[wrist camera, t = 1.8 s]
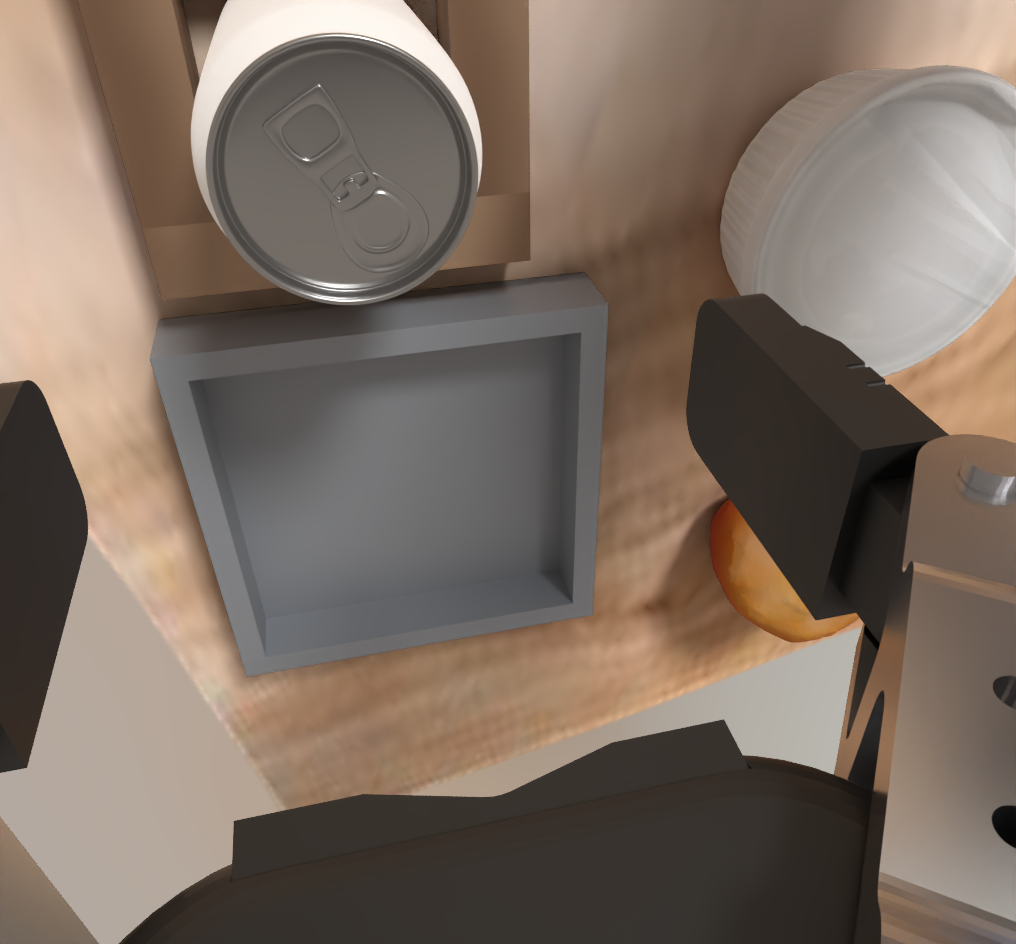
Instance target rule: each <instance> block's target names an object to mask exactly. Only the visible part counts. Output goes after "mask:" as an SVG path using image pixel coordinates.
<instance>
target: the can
mask: <svg viewBox="0 0 1016 944" xmlns="http://www.w3.org/2000/svg"><path fill="white" fill-rule="evenodd" d="M191 150H192V158H193V165H194V170H195V174H196V178H197V182H198V185H199V188H200V191H201V194H202V196H203V199H204V201H205V203H206V205H207V207H208V209H209V211H210V213H211V215H212V216H213V218H214V220H215V221H216V223H217V225H218V226H219V227H220V229H221V230H222V232H223V233H224V234H225V235H226V237H227V238H228V239H229V241H230V242H231V244H232V245H233V247H234V248H235V249H236V250H237V252H238V253H239V254H240V255H241V257H242V258H243V259H244V260H245V261H246V262H247V263H248V264H249V265H250V266H251V267H252V268H253V269H255V270H256V271H257V272H258V273H259V274H261V275H262V276H263V277H264V278H266V279H267V280H269V281H270V282H272V283H273V284H275V285H277V286H278V287H280V288H282V289H284V290H286V291H288V292H290V293H292V294H295V295H297V296H300V297H302V298H305V299H309V300H312V301H316V302H321V303H326V304H334V305H362V304H370V303H375V302H380V301H384V300H387V299H390V298H393V297H396V296H398V295H401V294H403V293H405V292H407V291H409V290H411V289H413V288H415V287H416V286H418V285H419V284H421V283H423V282H424V281H425V280H427V279H428V278H429V277H431V276H432V275H433V274H434V273H435V272H436V271H437V270H438V269H440V268H441V267H442V265H443V264H444V263H445V262H446V261H447V260H448V259H449V258H450V256H451V255H452V254H453V252H454V251H455V250H456V248H457V247H458V245H459V243H460V242H461V240H462V238H463V236H464V234H465V232H466V230H467V228H468V225H469V223H470V220H471V217H472V214H473V211H474V207H475V203H476V197H477V191H478V187H479V183H480V177H481V169H482V140H481V132H480V126H479V121H478V117H477V113H476V110H475V107H474V104H473V101H472V98H471V95H470V93H469V90H468V88H467V86H466V84H465V82H464V80H463V78H462V76H461V75H460V73H459V71H458V70H457V68H456V66H455V65H454V63H453V62H452V60H451V59H450V57H449V56H448V54H447V53H446V52H445V51H444V49H443V48H442V47H441V45H440V44H439V43H438V42H437V40H436V39H435V38H434V37H433V35H432V34H431V33H430V32H429V30H428V29H427V28H426V27H425V26H424V24H423V23H422V22H421V21H420V20H419V18H418V17H417V16H416V15H415V14H414V13H413V11H412V10H411V9H410V8H409V7H408V5H407V4H406V3H405V2H404V1H403V0H227V2H226V4H225V6H224V8H223V10H222V13H221V15H220V18H219V21H218V23H217V26H216V29H215V32H214V35H213V38H212V41H211V45H210V48H209V51H208V54H207V57H206V60H205V64H204V67H203V71H202V74H201V77H200V81H199V85H198V88H197V92H196V96H195V101H194V107H193V113H192V120H191Z"/></svg>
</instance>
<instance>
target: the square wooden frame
mask: <svg viewBox="0 0 1016 944" xmlns="http://www.w3.org/2000/svg"><path fill="white" fill-rule="evenodd" d="M77 1H78V5H79V8H80V12H81V15H82V19H83V22H84V26H85V30H86V33H87V37H88V40H89V44H90V47H91V51H92V54H93V58H94V61H95V65H96V68H97V72H98V75H99V79H100V83H101V86H102V90H103V93H104V97H105V100H106V104H107V107H108V111H109V114H110V118H111V121H112V125H113V128H114V132H115V136H116V139H117V143H118V146H119V150H120V153H121V157H122V160H123V164H124V167H125V171H126V174H127V178H128V181H129V185H130V189H131V192H132V196H133V199H134V203H135V206H136V210H137V213H138V217H139V220H140V224H141V227H142V231H143V234H144V238H145V242H146V245H147V249H148V252H149V256H150V259H151V263H152V266H153V270H154V273H155V277H156V280H157V284H158V287H159V291H160V294H161V298H162V300H169V299H178V298H188V297H197V296H206V295H215V294H224V293H234V292H243V291H252V290H261V289H270V288H280V287H278V286H277V285H275V284H273V283H272V282H270V281H269V280H267V279H266V278H264V277H263V276H262V275H261V274H259V273H258V272H257V271H256V270H255V269H253V268H252V267H251V266H250V265H249V264H248V263H247V262H246V261H245V260H244V259H243V258H242V257H241V255H240V254H239V253H238V252H237V250H236V249H235V248H234V247H233V245H232V244H231V242H230V241H229V239H228V238H227V237H226V235H225V234H224V233H223V232H222V230H221V229H220V227H219V226H218V225H217V223H216V221H215V220H214V218H213V216H212V215H211V213H210V211H209V209H208V207H207V205H206V203H205V201H204V199H203V196H202V194H201V191H200V188H199V185H198V182H197V178H196V174H195V170H194V165H193V158H192V150H191V120H192V113H193V107H194V101H195V96H196V92H197V88H198V85H199V81H200V79H199V75H198V70H197V66H196V61H195V56H194V52H193V47H192V43H191V38H190V34H189V29H188V24H187V20H186V15H185V11H184V6H183V2H182V0H77ZM436 12H437V28H438V43H439V44H440V45H441V47H442V48H443V49H444V51H445V52H446V53H447V54H448V56H449V57H450V59H451V60H452V62H453V63H454V65H455V66H456V68H457V70H458V71H459V73H460V75H461V76H462V78H463V80H464V82H465V84H466V86H467V88H468V90H469V93H470V95H471V98H472V101H473V104H474V107H475V110H476V113H477V117H478V121H479V126H480V132H481V140H482V169H481V177H480V183H479V187H478V191H477V197H476V203H475V207H474V211H473V214H472V217H471V220H470V223H469V225H468V228H467V230H466V232H465V234H464V236H463V238H462V240H461V242H460V243H459V245H458V247H457V248H456V250H455V251H454V252H453V254H452V255H451V256H450V258H449V259H448V260H447V261H446V262H445V263H444V264H443V265H442V267H441V268H440V269H438V270H445V269H454V268H463V267H473V266H482V265H491V264H500V263H509V262H519V261H528V260H530V145H529V2H528V0H436Z"/></svg>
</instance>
